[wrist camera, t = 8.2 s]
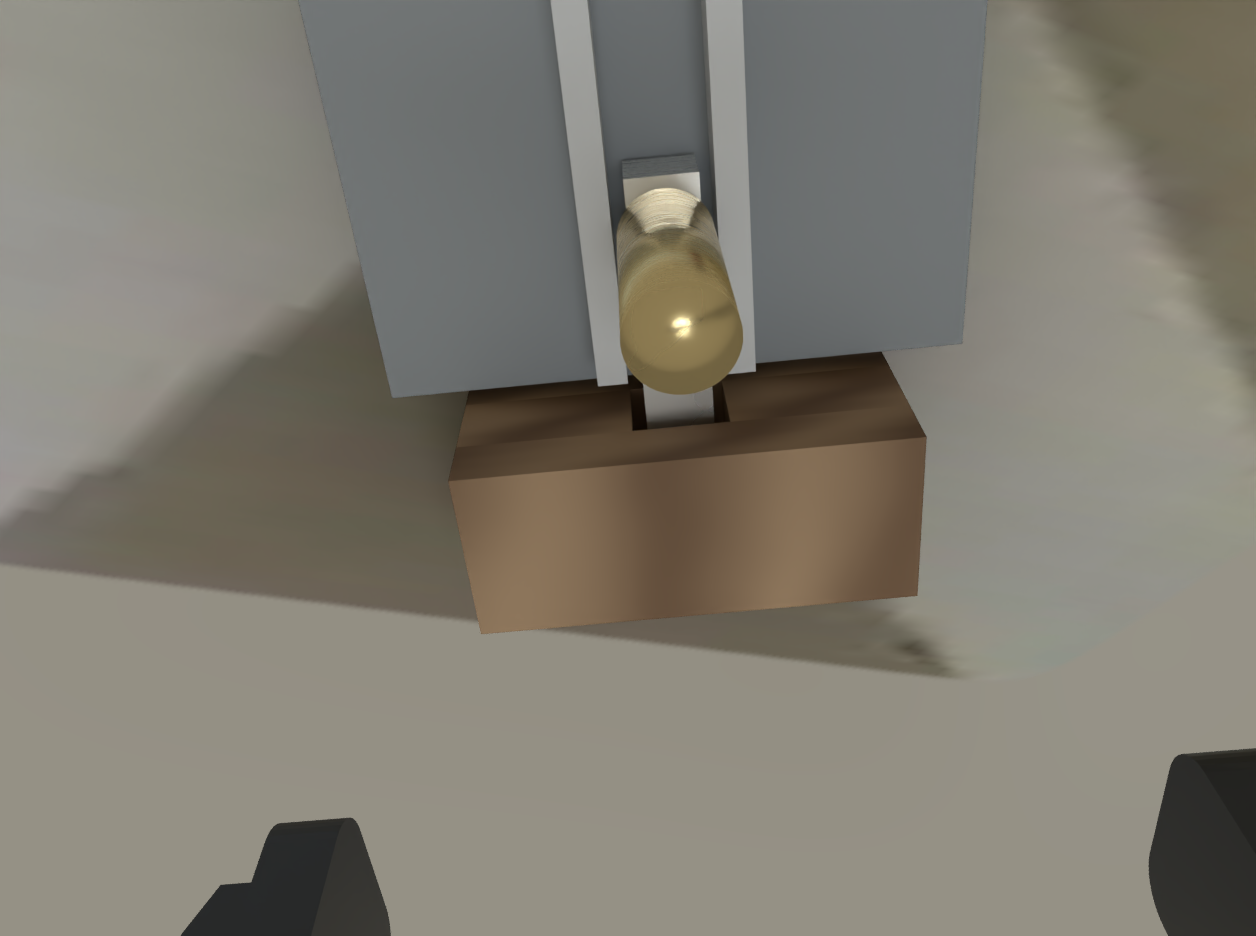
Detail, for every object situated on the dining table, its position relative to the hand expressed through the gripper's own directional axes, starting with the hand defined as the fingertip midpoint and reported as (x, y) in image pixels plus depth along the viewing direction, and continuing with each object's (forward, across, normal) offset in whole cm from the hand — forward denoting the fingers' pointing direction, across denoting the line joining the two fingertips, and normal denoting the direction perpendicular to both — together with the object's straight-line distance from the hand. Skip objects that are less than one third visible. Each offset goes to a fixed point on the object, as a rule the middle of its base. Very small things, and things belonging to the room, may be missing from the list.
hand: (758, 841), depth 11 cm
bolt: (+19, 0, +3) cm, 20 cm away
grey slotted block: (+22, 0, -3) cm, 22 cm away
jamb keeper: (+22, 0, +7) cm, 23 cm away
